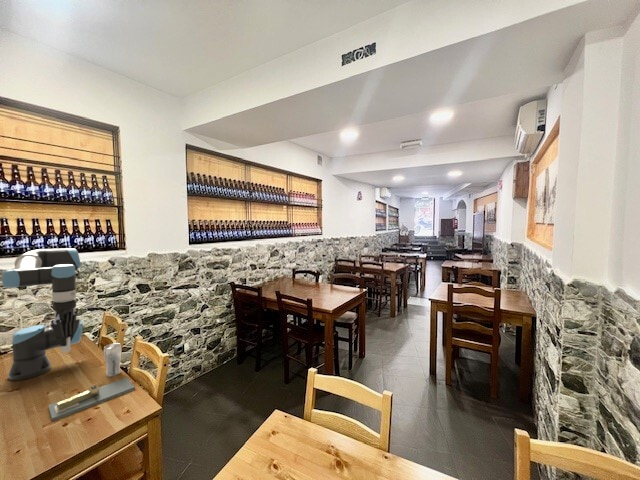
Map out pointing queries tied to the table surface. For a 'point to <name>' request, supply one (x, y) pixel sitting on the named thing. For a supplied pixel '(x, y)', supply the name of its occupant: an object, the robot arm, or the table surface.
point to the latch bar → (78, 397)
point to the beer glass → (113, 359)
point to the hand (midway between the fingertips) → (66, 351)
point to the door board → (93, 398)
